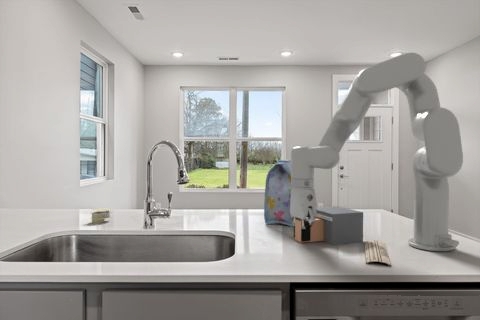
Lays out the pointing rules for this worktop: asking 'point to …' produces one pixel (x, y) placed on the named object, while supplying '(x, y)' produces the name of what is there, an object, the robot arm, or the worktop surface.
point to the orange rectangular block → (316, 230)
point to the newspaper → (376, 252)
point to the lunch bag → (278, 194)
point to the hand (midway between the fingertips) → (301, 238)
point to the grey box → (341, 224)
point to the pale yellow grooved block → (100, 215)
